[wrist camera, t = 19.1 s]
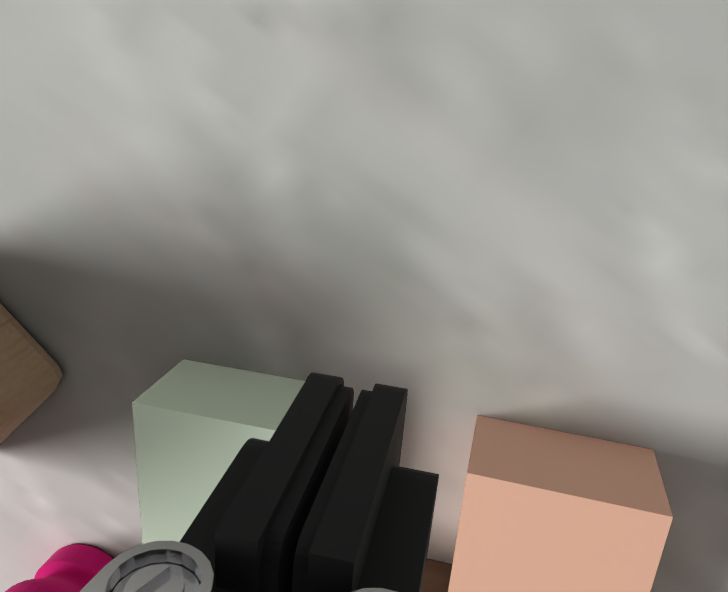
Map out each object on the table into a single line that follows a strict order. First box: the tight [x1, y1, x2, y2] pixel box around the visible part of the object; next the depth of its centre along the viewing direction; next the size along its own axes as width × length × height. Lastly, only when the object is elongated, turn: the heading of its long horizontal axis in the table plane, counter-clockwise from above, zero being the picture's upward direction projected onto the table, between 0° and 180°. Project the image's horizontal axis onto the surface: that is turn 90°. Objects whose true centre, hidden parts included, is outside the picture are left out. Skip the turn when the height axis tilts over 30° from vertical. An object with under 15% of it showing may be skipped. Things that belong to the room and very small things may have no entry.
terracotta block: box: [448, 415, 673, 592], centre depth 30 cm, size 9×8×5 cm
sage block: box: [132, 359, 305, 544], centre depth 33 cm, size 9×8×5 cm
